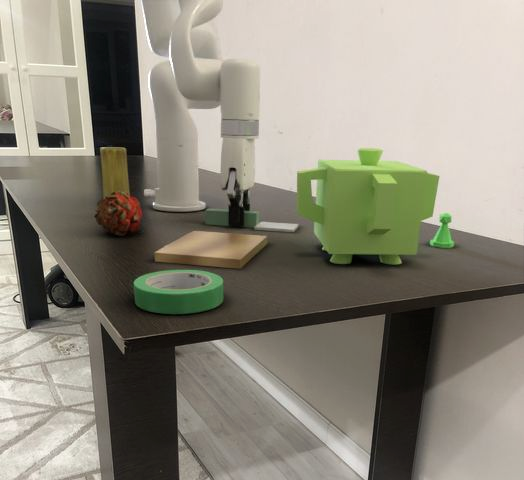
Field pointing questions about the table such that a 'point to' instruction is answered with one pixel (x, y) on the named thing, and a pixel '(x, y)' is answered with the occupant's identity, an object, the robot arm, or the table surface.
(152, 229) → the table surface
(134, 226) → the dragon fruit
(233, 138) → the robot arm
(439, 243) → the game piece
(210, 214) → the spatula
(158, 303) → the tape roll
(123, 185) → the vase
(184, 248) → the cutting board
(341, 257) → the green handled cubic container
